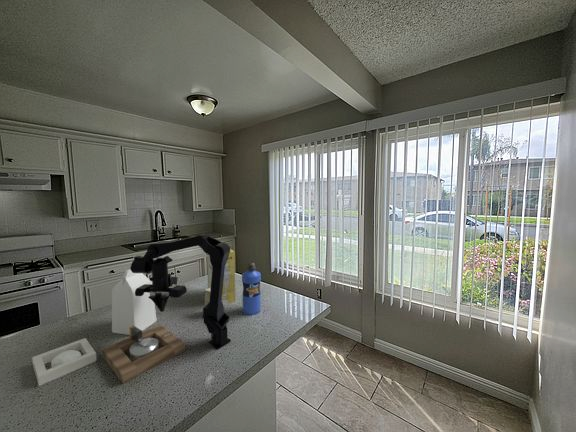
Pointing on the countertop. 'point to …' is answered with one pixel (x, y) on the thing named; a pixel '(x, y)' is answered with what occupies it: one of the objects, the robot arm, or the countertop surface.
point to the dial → (141, 344)
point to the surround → (133, 369)
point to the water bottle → (251, 290)
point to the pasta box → (225, 278)
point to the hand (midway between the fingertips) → (162, 311)
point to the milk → (131, 304)
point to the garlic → (65, 357)
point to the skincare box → (207, 296)
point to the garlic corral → (65, 368)
